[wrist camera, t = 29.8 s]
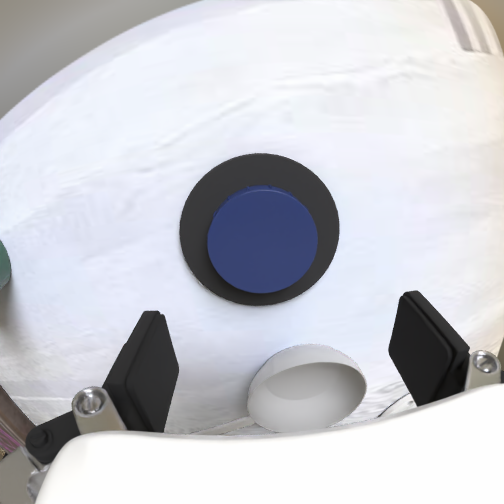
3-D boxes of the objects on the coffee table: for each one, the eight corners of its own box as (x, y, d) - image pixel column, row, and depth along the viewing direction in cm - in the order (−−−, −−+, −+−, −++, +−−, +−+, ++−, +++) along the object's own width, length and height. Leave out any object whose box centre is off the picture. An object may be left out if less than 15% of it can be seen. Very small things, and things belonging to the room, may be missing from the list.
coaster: (337, 151, 18) (340, 151, 17) (333, 295, 22) (335, 299, 21) (171, 161, 18) (169, 162, 17) (193, 305, 22) (192, 310, 21)
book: (-48, 366, 28) (-59, 379, 24) (-6, 375, 27) (-20, 395, 23) (29, 453, 40) (23, 467, 35) (88, 472, 39) (83, 489, 34)
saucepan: (365, 383, 26) (376, 409, 23) (219, 433, 29) (218, 459, 26) (338, 314, 23) (352, 343, 19) (163, 382, 26) (155, 411, 22)
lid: (216, 284, 21) (214, 297, 19) (204, 189, 18) (200, 194, 16) (311, 277, 21) (316, 289, 19) (311, 182, 18) (318, 186, 16)
